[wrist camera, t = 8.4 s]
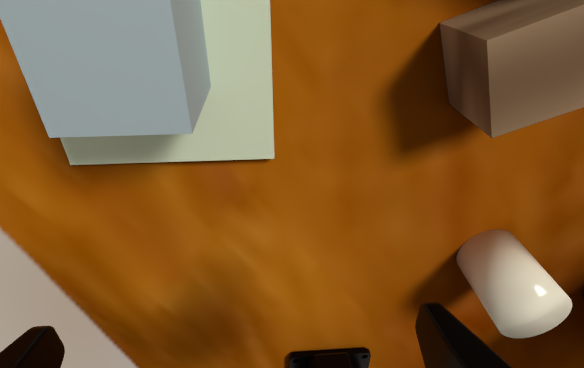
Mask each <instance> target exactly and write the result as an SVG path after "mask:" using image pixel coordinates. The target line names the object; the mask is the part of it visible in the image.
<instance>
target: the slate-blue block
mask: <svg viewBox="0 0 584 368" xmlns="http://www.w3.org/2000/svg"><path fill="white" fill-rule="evenodd" d="M0 19H1V21H2V24H3V26H4V28H5V31H6V33H7V36H8V38H9V41H10V43H11V46H12V48H13V50H14V53H15V55H16V58H17V60H18V63H19V65H20V68H21V70H22V72H23V75H24V77H25V80H26V82H27V85H28V87H29V90H30V92H31V94H32V97H33V99H34V102H35V104H36V107H37V109H38V112H39V114H40V116H41V119H42V121H43V124H44V126H45V129H46V131H47V134H48V136H49V138H58V137H94V136H130V135H165V134H192V133H193V131H194V128H195V126H196V123H197V121H198V118H199V116H200V113H201V111H202V108H203V106H204V103H205V100H206V98H207V95H208V93H209V90H210V88H211V81H210V73H209V65H208V57H207V49H206V41H205V33H204V25H203V17H202V9H201V1H200V0H0Z"/></svg>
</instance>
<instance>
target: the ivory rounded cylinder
mask: <svg viewBox="0 0 584 368" xmlns="http://www.w3.org/2000/svg"><path fill="white" fill-rule="evenodd" d="M456 261H457V265H458V266H459V268H460V270H461V271H462V273H463V274H464V276H465V278H466V279H467V281H468V282H469V284H470V285H471V287H472V289H473V290H474V292H475V293H476V295H477V297H478V298H479V300H480V301H481V303H482V305H483V306H484V308H485V309H486V311H487V313H488V314H489V316H490V317H491V319H492V320H493V322H494V324H495V325H496V327H497V328H498V330H499V332H500V333H501V334H503V335H504V336H506V337H510V338H528V337H533V336H536V335H539V334H542V333H545V332H547V331H549V330H551V329H553V328H554V327H556V326H557V325H559V324H560V323H561V322H562V321H564V320H565V319H566V317H567V316H568V315H569V313H570V312H571V309H572V301H571V299H570V298H569V296H568V295H567V294H566V293H565V292H564V291H563V290H562V289H561V288H560V286H559V285H558V284H557V283H556V282H555V281H554V280H553V279H552V277H551V276H550V275H549V274H548V273H547V272H546V271H545V270H544V269H543V267H542V266H541V265H540V264H539V263H538V262H537V261H536V260H535V258H534V257H533V256H532V255H531V254H530V253H529V252H528V251H527V250H526V248H525V247H524V246H523V245H522V244H521V243H520V242H519V241H518V240H517V238H516V237H515V236H514V235H513V234H512V233H510V232H508V231H505V230H500V229H495V230H488V231H485V232H482V233H479V234H477V235H475V236H473V237H472V238H470V239H469V240H468V241H466V242H465V243H464V244H463V245H462V247H461V248H460V250H459V251H458V254H457V258H456Z"/></svg>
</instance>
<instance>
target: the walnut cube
mask: <svg viewBox="0 0 584 368" xmlns="http://www.w3.org/2000/svg"><path fill="white" fill-rule="evenodd" d="M440 32H441V40H442V48H443V57H444V65H445V74H446V82H447V91H448V99H449V104H450V105H451V106H452V107H453V108H455V109H456V110H457V111H458V112H460V113H461V114H462V115H463V116H465V117H466V118H467V119H468V120H470V121H471V122H472V123H474V124H475V125H476V126H477V127H479V128H480V129H481V130H482V131H484V132H485V133H486V134H487V135H489V136H490V137H491V138H493V137H496V136H499V135H502V134H505V133H508V132H511V131H514V130H517V129H520V128H523V127H526V126H529V125H532V124H535V123H538V122H541V121H544V120H547V119H550V118H553V117H556V116H559V115H562V114H565V113H568V112H570V111H573V110H576V109H579V108H582V107H584V0H497V1H495V2H492V3H489V4H487V5H484V6H482V7H479V8H476V9H474V10H471V11H469V12H466V13H464V14H461V15H458V16H456V17H453V18H451V19H448V20H445V21H443V22H440Z"/></svg>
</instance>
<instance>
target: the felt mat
mask: <svg viewBox="0 0 584 368" xmlns="http://www.w3.org/2000/svg"><path fill="white" fill-rule="evenodd" d="M200 1H201V9H202V17H203V25H204V33H205V41H206V49H207V57H208V65H209V73H210V81H211V88H210V90H209V93H208V95H207V98H206V100H205V103H204V106H203V108H202V111H201V113H200V116H199V118H198V121H197V123H196V126H195V128H194V131H193V133H192V134H165V135H130V136H94V137H60V139H61V142H62V145H63V147H64V150H65V152H66V155H67V157H68V160H69V163H70V165H88V164H120V163H152V162H184V161H216V160H248V159H274V126H273V91H272V55H271V20H270V0H200Z"/></svg>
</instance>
